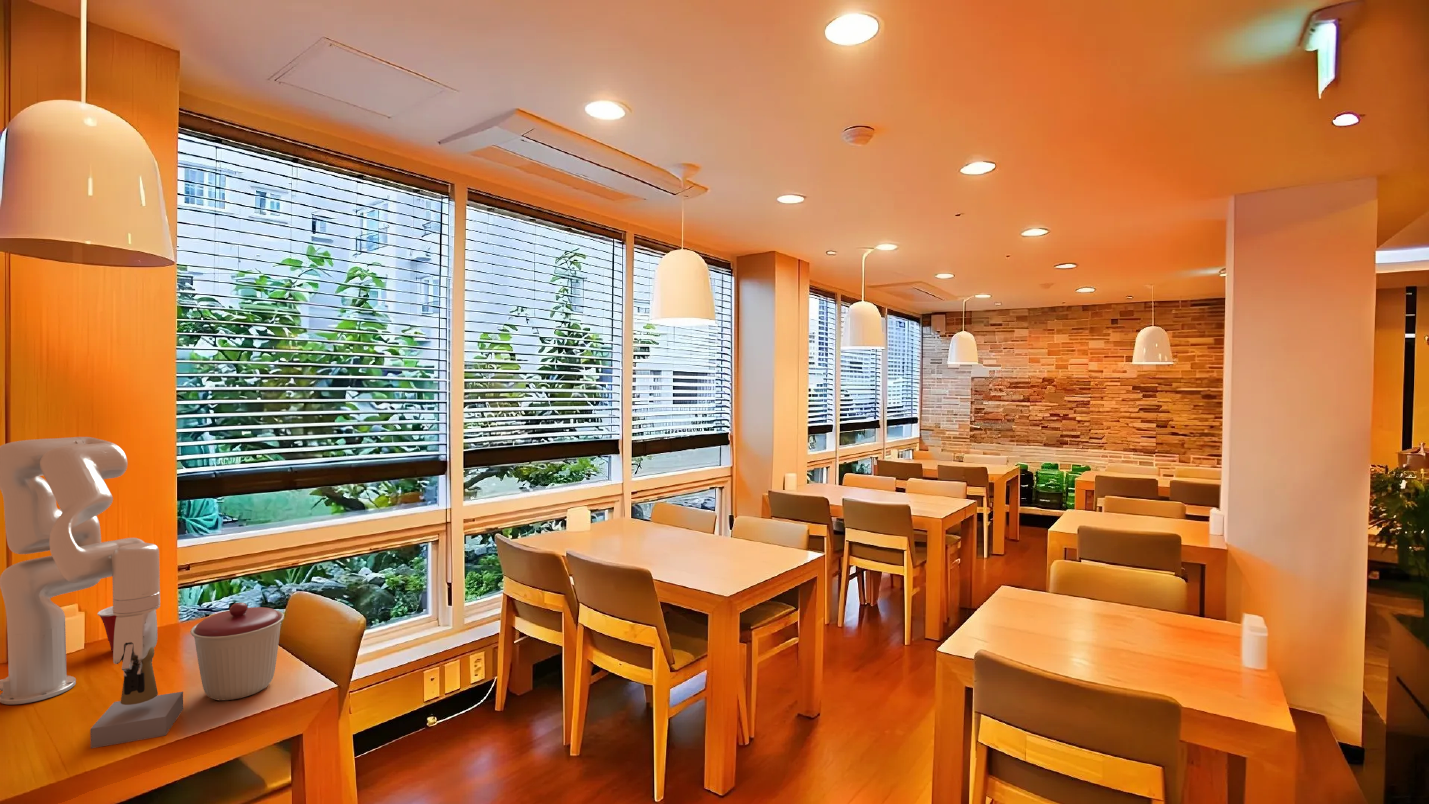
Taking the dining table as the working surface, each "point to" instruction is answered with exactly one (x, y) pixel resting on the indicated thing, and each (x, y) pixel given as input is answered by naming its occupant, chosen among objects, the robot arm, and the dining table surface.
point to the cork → (149, 683)
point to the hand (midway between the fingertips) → (138, 687)
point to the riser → (137, 720)
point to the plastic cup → (108, 623)
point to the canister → (237, 650)
